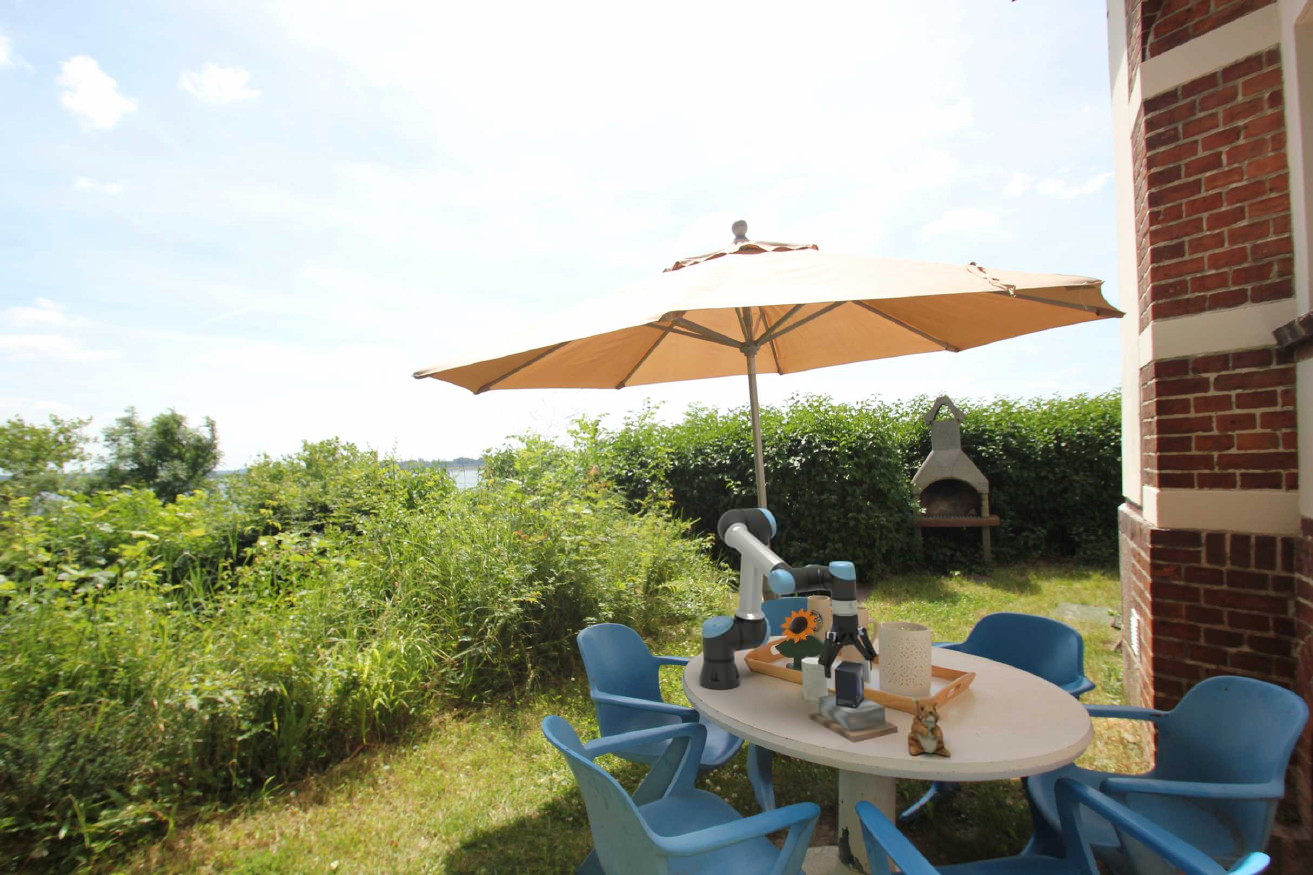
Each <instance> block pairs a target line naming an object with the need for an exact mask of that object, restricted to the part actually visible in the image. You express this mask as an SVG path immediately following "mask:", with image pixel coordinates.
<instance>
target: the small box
mask: <svg viewBox="0 0 1313 875" xmlns="http://www.w3.org/2000/svg"><path fill="white" fill-rule="evenodd" d="M834 680H835V690H834V691H835V694H836V705H840V706H846V707H851V708H857V707H858V706H859V704H860V703H861V702H862V701H863V699H864V698H866V695H865V682H864V677H863V664H862V662H854V661H849V660H842V661H841V662H840V663H839V664H837V666H836V667H835V668H834Z"/></svg>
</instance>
